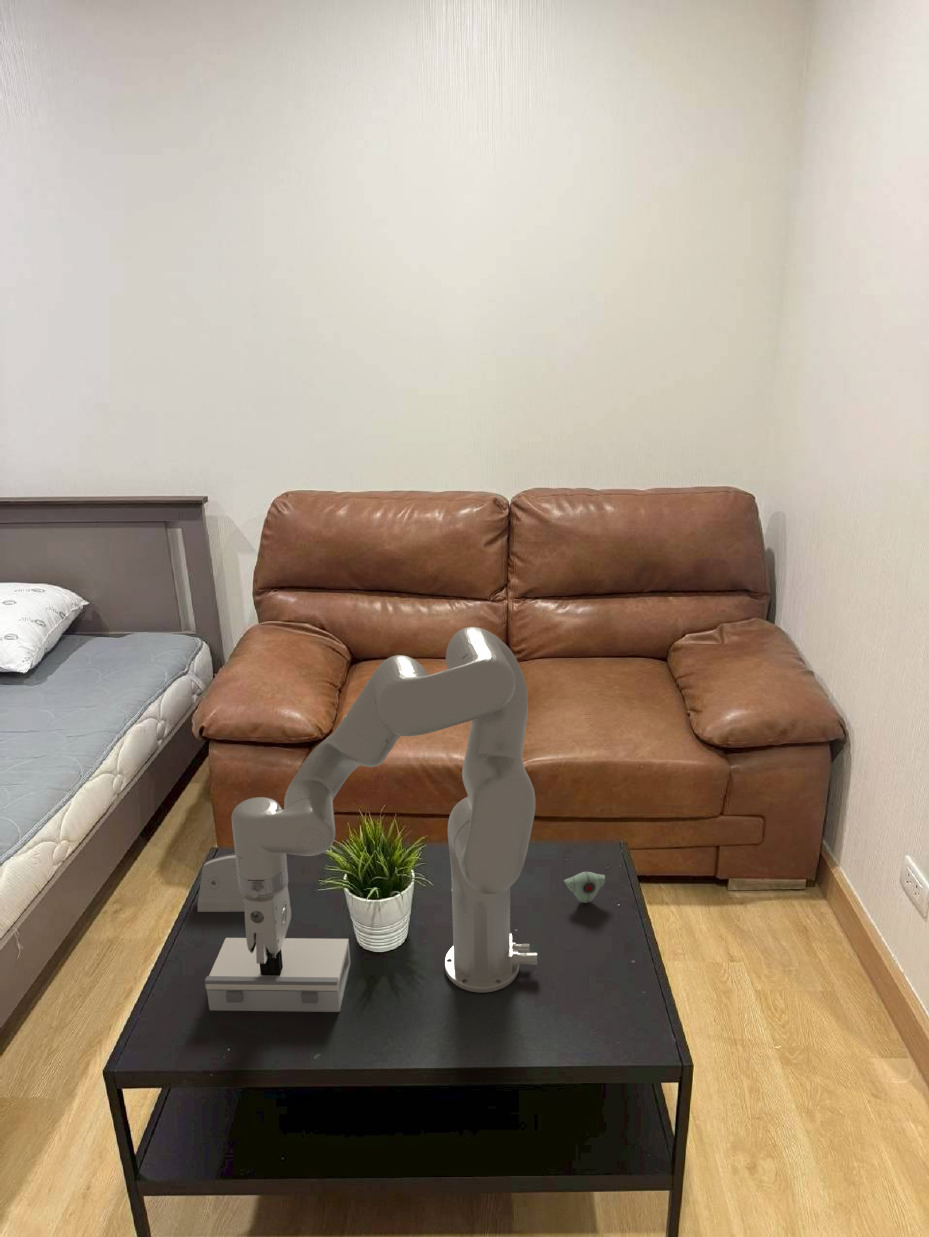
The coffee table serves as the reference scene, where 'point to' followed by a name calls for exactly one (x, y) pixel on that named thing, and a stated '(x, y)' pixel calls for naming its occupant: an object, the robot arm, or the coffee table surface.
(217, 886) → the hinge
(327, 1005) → the grey hinged box
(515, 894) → the coffee table surface
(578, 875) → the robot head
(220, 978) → the cover
